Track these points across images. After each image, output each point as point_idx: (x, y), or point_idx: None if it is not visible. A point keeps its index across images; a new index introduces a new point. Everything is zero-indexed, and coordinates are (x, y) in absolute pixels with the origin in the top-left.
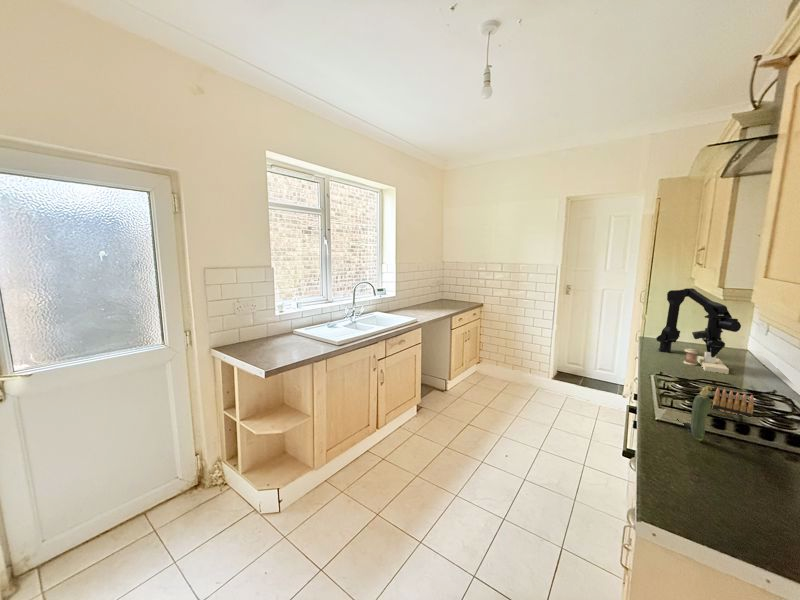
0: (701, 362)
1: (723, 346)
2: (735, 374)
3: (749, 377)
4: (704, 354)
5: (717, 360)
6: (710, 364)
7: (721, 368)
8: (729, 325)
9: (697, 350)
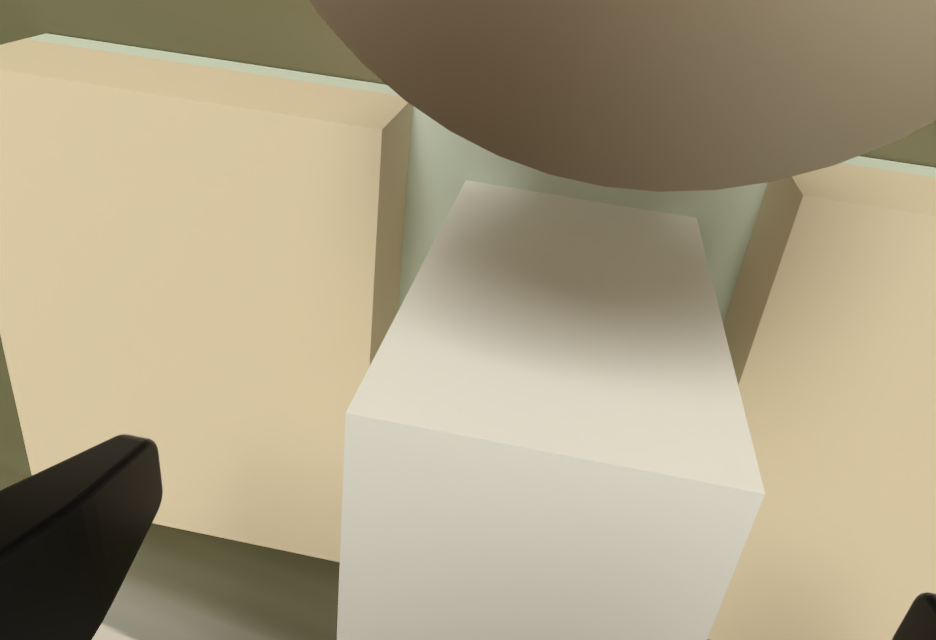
0: (762, 199)
1: None
2: (186, 531)
3: (141, 636)
4: (732, 393)
5: (807, 605)
6: (244, 277)
7: (13, 389)
8: None
9: (759, 140)
